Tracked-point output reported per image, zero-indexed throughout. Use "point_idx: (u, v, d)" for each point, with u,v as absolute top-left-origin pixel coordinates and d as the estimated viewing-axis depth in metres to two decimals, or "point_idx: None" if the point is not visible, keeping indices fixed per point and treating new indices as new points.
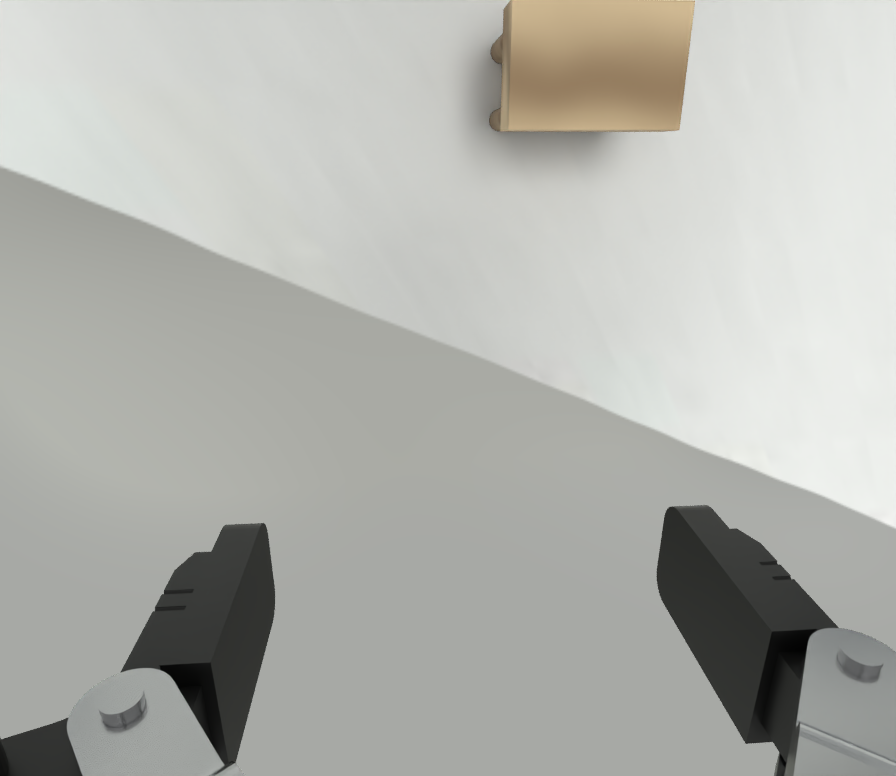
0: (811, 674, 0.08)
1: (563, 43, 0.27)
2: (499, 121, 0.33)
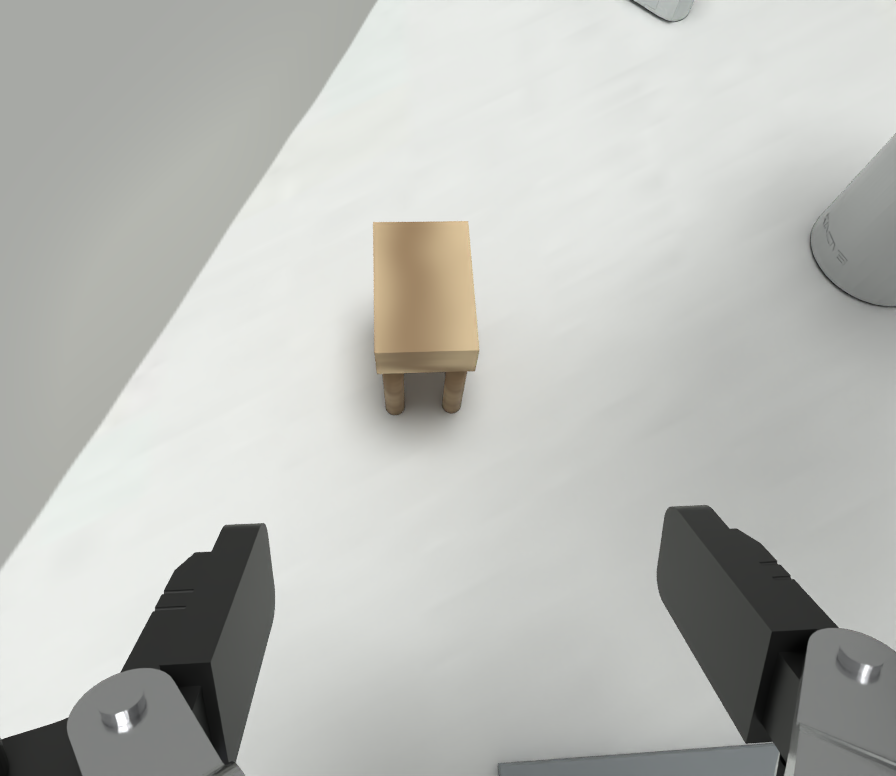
0: (811, 674, 0.08)
1: (439, 256, 0.33)
2: None
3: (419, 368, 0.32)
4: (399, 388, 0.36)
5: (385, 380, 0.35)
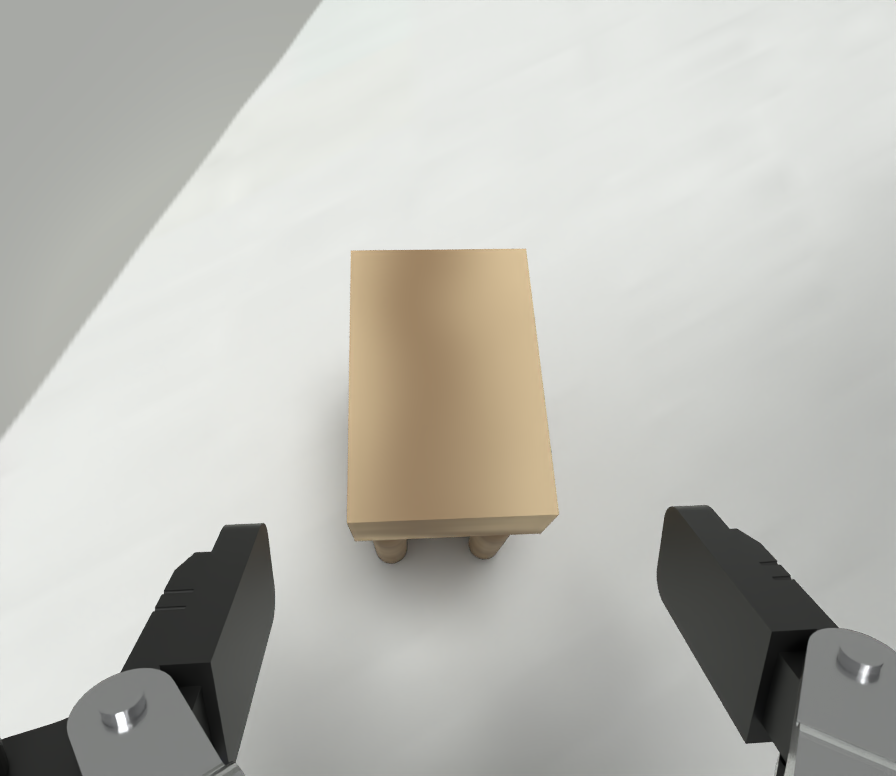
0: (811, 674, 0.08)
1: (475, 316, 0.18)
2: None
3: (436, 534, 0.17)
4: (398, 541, 0.20)
5: None
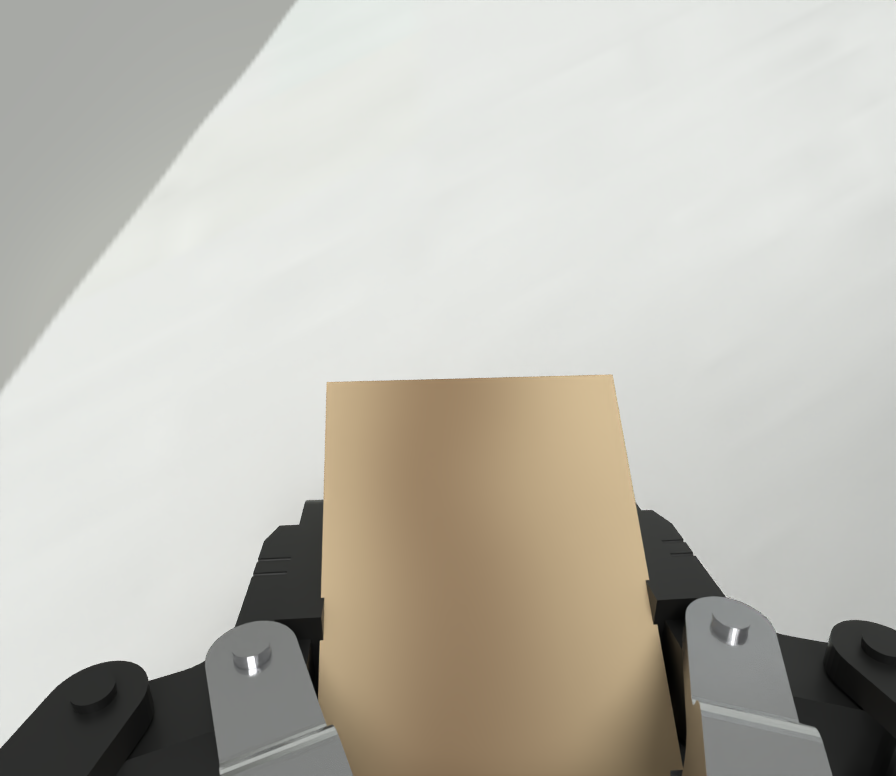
0: (694, 648, 0.08)
1: (536, 502, 0.10)
2: None
3: None
4: None
5: None
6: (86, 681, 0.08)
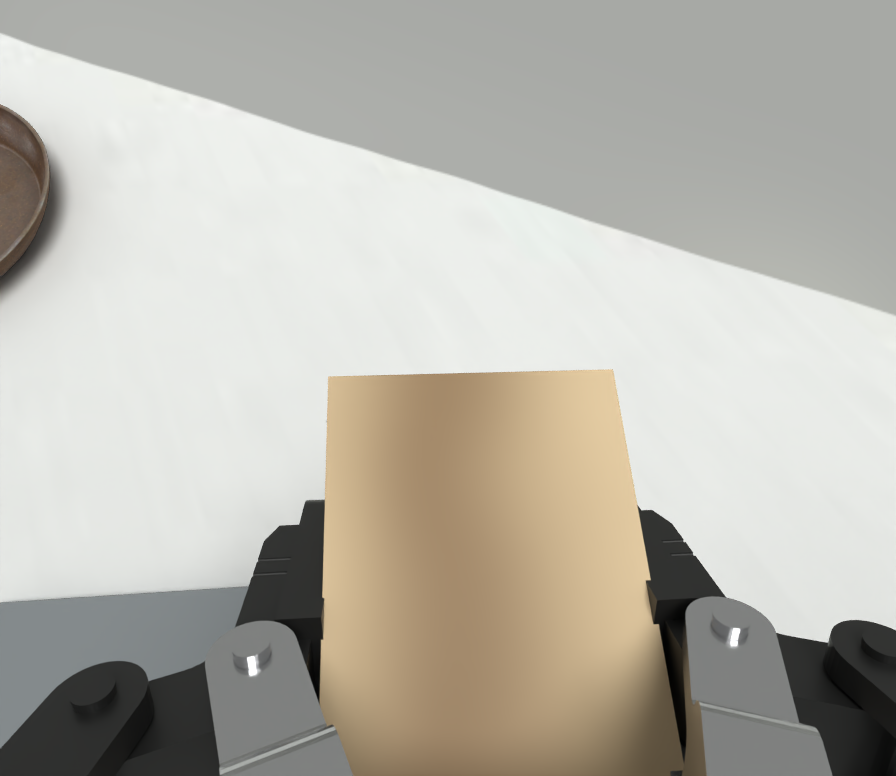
0: (694, 647, 0.08)
1: (536, 495, 0.10)
2: None
3: None
4: None
5: None
6: (86, 681, 0.08)
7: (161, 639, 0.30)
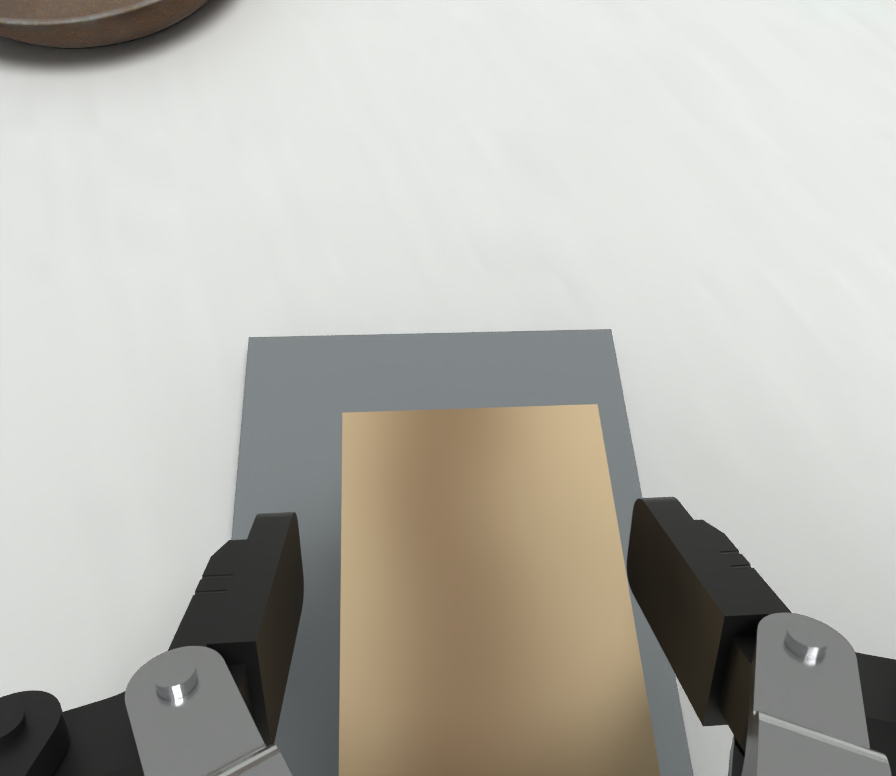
0: (763, 661, 0.08)
1: (529, 519, 0.12)
2: None
3: None
4: None
5: None
6: None
7: (467, 383, 0.23)
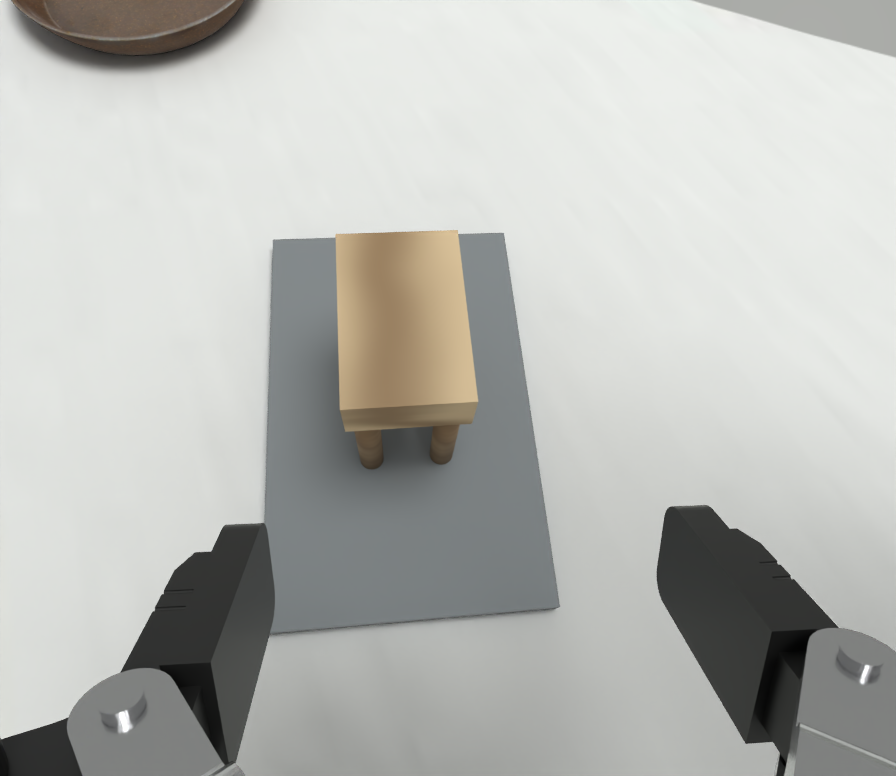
0: (811, 674, 0.08)
1: (422, 276, 0.26)
2: None
3: (400, 423, 0.25)
4: (375, 442, 0.28)
5: (357, 435, 0.27)
6: None
7: None
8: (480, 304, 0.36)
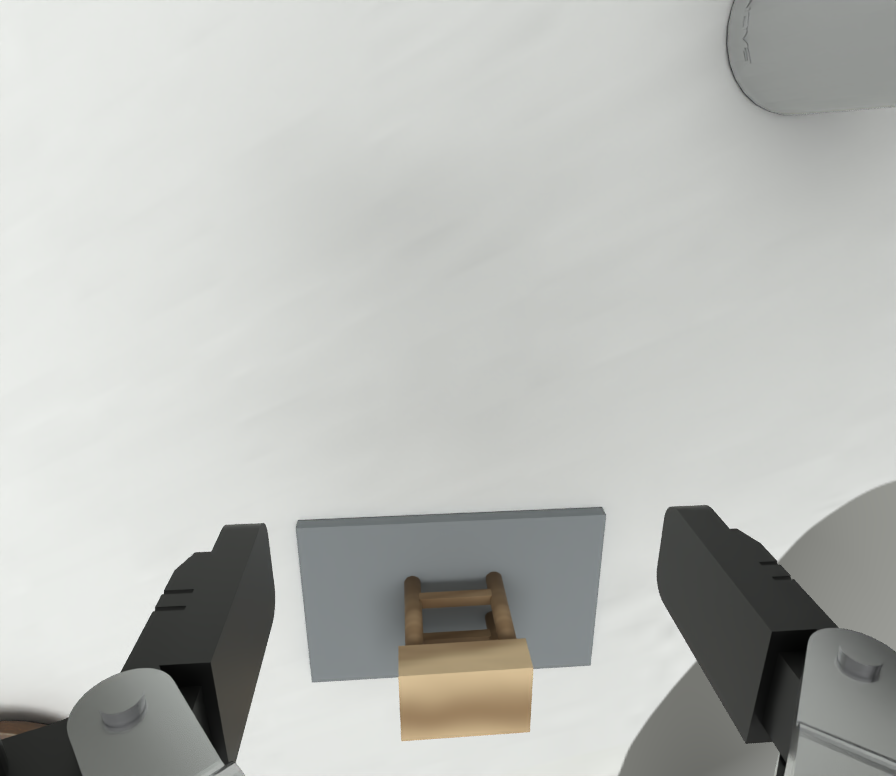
0: (811, 674, 0.08)
1: (438, 695, 0.37)
2: None
3: None
4: None
5: None
6: None
7: (333, 595, 0.45)
8: (370, 549, 0.44)
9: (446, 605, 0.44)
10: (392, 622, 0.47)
